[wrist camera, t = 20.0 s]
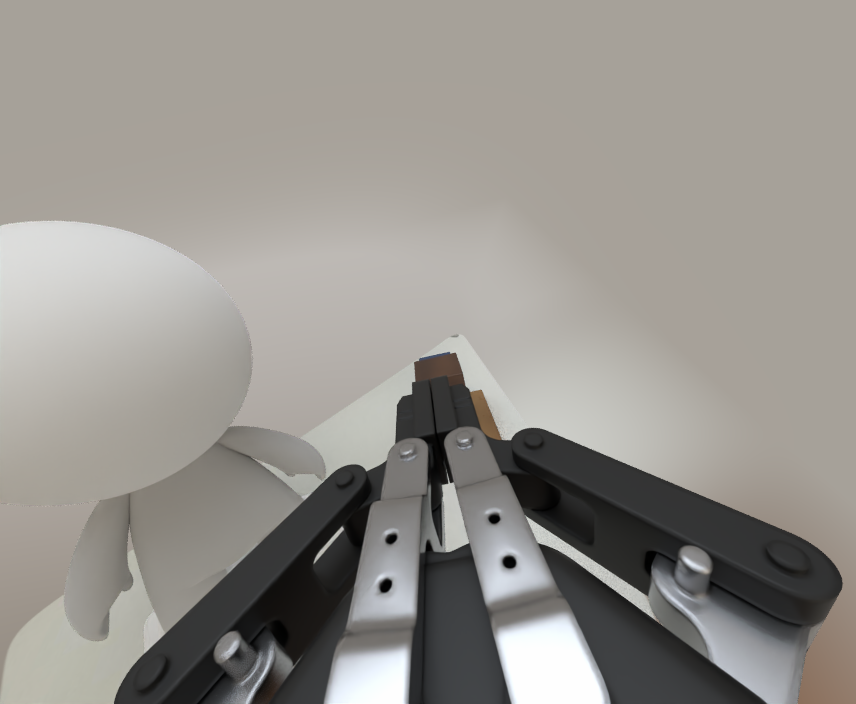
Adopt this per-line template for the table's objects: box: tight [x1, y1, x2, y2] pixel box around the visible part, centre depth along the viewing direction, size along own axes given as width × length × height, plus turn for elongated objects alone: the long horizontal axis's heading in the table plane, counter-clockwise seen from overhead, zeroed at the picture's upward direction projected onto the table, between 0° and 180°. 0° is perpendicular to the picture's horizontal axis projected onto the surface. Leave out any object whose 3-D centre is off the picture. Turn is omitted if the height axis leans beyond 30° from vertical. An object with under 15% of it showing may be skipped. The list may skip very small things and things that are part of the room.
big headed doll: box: [0, 221, 355, 668], centre depth 26 cm, size 20×23×35 cm
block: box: [414, 353, 502, 440], centre depth 47 cm, size 12×12×10 cm
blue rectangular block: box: [419, 352, 450, 361], centre depth 65 cm, size 6×2×3 cm, turn 93°
